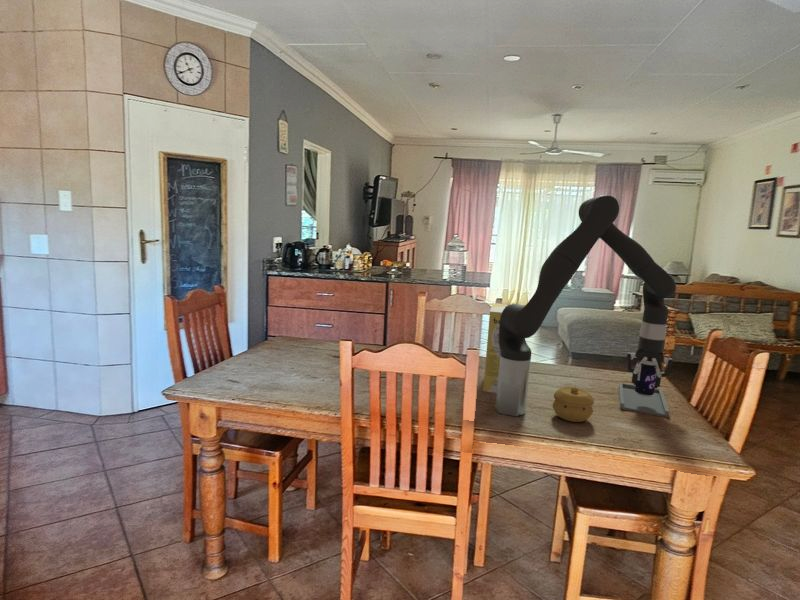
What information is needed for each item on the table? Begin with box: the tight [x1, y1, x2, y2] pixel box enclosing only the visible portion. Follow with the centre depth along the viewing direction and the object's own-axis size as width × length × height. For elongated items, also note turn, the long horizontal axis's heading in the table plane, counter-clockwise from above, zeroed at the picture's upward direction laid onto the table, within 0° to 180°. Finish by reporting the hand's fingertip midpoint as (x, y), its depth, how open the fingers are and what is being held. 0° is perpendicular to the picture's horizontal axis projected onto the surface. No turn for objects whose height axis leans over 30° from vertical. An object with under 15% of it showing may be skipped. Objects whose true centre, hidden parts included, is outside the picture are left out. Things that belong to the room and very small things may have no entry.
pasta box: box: [482, 302, 509, 394], centre depth 179 cm, size 18×10×28 cm, turn 167°
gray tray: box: [618, 382, 670, 418], centre depth 173 cm, size 24×14×2 cm, turn 158°
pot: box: [552, 386, 595, 423], centre depth 153 cm, size 12×12×10 cm
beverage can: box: [635, 360, 657, 397], centre depth 166 cm, size 6×6×12 cm
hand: (645, 385), depth 166 cm, fingers closed on beverage can, 5 cm apart
